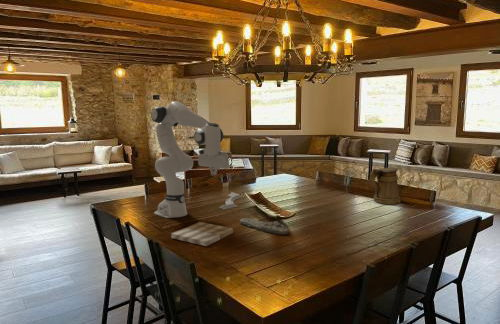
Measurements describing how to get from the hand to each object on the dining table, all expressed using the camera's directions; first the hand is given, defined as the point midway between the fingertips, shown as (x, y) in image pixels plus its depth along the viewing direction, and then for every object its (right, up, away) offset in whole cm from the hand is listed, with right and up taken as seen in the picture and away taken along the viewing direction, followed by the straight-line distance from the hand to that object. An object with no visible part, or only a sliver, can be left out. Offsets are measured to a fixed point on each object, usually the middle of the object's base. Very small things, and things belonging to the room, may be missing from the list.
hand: (213, 174), depth 225 cm
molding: (+6, -23, +61) cm, 65 cm away
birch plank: (-8, -34, -16) cm, 39 cm away
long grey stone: (+29, -32, +1) cm, 43 cm away
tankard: (+119, -22, +56) cm, 133 cm away
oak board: (-2, -33, -6) cm, 33 cm away
